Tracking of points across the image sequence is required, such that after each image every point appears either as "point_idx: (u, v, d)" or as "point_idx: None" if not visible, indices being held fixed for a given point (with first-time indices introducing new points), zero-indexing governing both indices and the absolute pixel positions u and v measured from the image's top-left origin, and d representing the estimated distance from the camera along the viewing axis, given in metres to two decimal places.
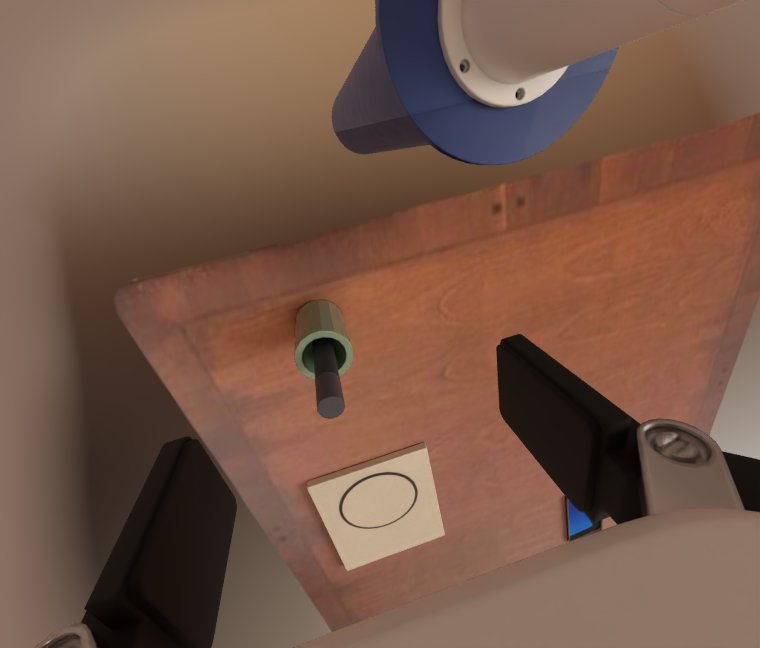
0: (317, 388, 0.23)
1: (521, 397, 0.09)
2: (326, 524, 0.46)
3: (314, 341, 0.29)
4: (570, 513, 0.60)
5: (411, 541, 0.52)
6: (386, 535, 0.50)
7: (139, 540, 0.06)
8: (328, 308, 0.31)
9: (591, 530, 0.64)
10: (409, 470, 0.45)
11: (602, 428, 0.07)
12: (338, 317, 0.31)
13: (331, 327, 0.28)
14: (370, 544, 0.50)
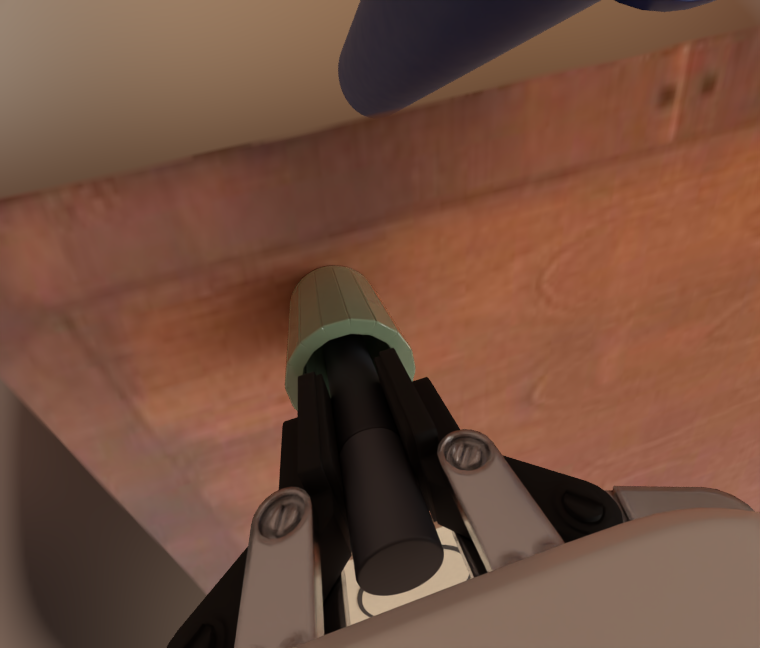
0: (349, 486, 0.08)
1: None
2: None
3: (328, 344, 0.14)
4: None
5: None
6: None
7: (318, 434, 0.08)
8: (354, 278, 0.16)
9: None
10: None
11: (414, 437, 0.08)
12: (375, 295, 0.15)
13: (369, 312, 0.12)
14: None
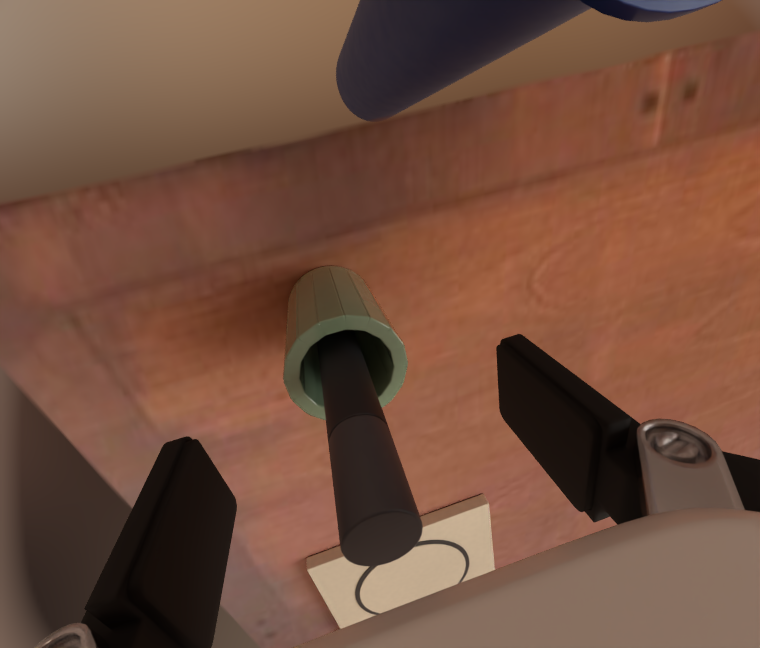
0: (337, 467, 0.08)
1: (521, 397, 0.09)
2: (335, 615, 0.31)
3: (321, 340, 0.14)
4: None
5: None
6: None
7: (139, 540, 0.06)
8: (350, 278, 0.17)
9: None
10: (460, 535, 0.30)
11: (602, 428, 0.07)
12: (370, 294, 0.16)
13: (363, 309, 0.13)
14: None
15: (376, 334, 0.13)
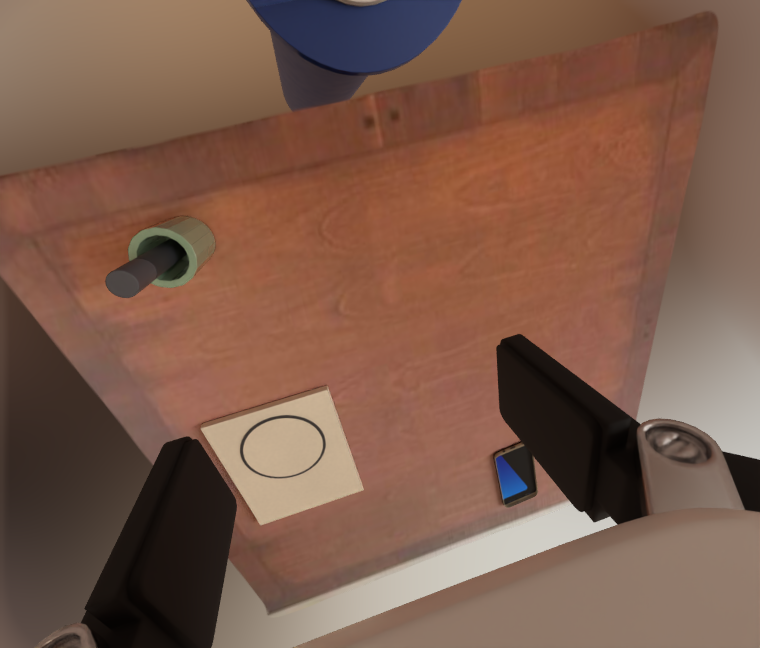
0: None
1: (521, 397, 0.09)
2: (229, 471, 0.44)
3: None
4: (501, 473, 0.58)
5: (327, 495, 0.50)
6: (297, 487, 0.48)
7: (139, 540, 0.06)
8: (186, 220, 0.30)
9: (526, 494, 0.63)
10: (312, 414, 0.43)
11: (602, 428, 0.07)
12: (193, 227, 0.29)
13: (169, 227, 0.26)
14: (282, 496, 0.48)
15: (173, 238, 0.26)
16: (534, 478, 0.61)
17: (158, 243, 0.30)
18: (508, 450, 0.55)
